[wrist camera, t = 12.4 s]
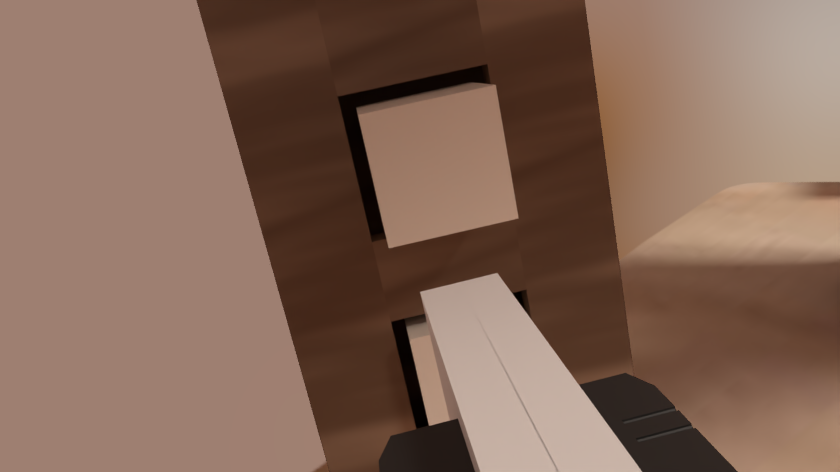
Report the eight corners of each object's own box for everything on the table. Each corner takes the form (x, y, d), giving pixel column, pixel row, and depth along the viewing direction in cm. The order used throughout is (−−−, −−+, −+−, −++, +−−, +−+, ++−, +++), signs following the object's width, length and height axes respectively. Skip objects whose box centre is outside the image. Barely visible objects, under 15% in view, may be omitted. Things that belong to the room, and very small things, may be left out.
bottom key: (538, 412, 24) (520, 312, 23) (432, 439, 24) (409, 339, 23) (511, 365, 28) (495, 277, 27) (420, 387, 28) (400, 300, 27)
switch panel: (652, 519, 27) (532, -394, 18) (364, 594, 26) (106, -318, 18) (605, 450, 31) (493, -299, 23) (361, 512, 31) (157, -236, 23)
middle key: (518, 218, 20) (495, 84, 19) (388, 248, 19) (358, 115, 18) (490, 193, 24) (469, 82, 23) (381, 218, 23) (355, 106, 22)
